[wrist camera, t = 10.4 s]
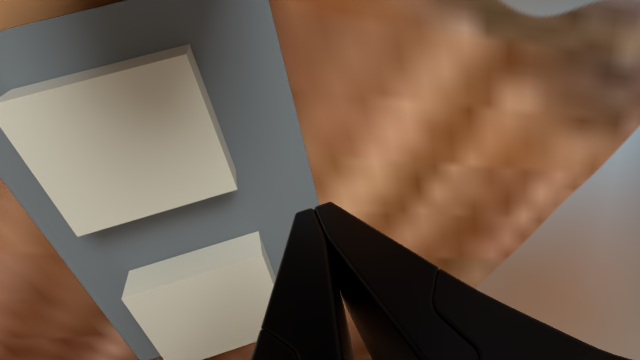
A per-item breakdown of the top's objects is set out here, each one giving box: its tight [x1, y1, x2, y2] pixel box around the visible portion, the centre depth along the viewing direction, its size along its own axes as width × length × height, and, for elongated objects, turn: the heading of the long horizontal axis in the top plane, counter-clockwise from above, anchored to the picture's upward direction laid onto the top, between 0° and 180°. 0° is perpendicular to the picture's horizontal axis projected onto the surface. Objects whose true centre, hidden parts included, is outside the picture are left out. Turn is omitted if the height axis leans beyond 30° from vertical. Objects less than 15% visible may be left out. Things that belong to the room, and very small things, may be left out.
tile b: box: [0, 44, 237, 237], centre depth 16 cm, size 6×2×7 cm
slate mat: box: [0, 0, 319, 360], centre depth 20 cm, size 19×13×1 cm
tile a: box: [121, 231, 276, 360], centre depth 21 cm, size 6×2×7 cm
